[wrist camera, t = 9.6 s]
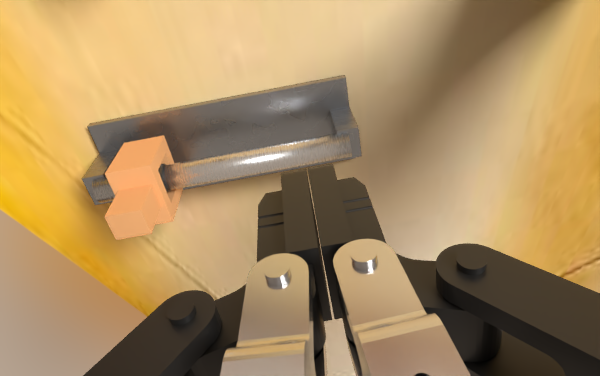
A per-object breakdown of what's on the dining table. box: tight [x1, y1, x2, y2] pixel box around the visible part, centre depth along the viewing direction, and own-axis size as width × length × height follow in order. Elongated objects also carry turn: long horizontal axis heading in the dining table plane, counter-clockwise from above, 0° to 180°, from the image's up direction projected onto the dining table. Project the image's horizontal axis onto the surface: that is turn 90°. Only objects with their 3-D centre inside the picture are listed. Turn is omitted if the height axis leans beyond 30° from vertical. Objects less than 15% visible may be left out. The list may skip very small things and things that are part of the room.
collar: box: [104, 135, 183, 240], centre depth 40 cm, size 4×6×10 cm, turn 10°
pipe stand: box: [82, 75, 361, 205], centre depth 43 cm, size 26×9×7 cm, turn 100°
